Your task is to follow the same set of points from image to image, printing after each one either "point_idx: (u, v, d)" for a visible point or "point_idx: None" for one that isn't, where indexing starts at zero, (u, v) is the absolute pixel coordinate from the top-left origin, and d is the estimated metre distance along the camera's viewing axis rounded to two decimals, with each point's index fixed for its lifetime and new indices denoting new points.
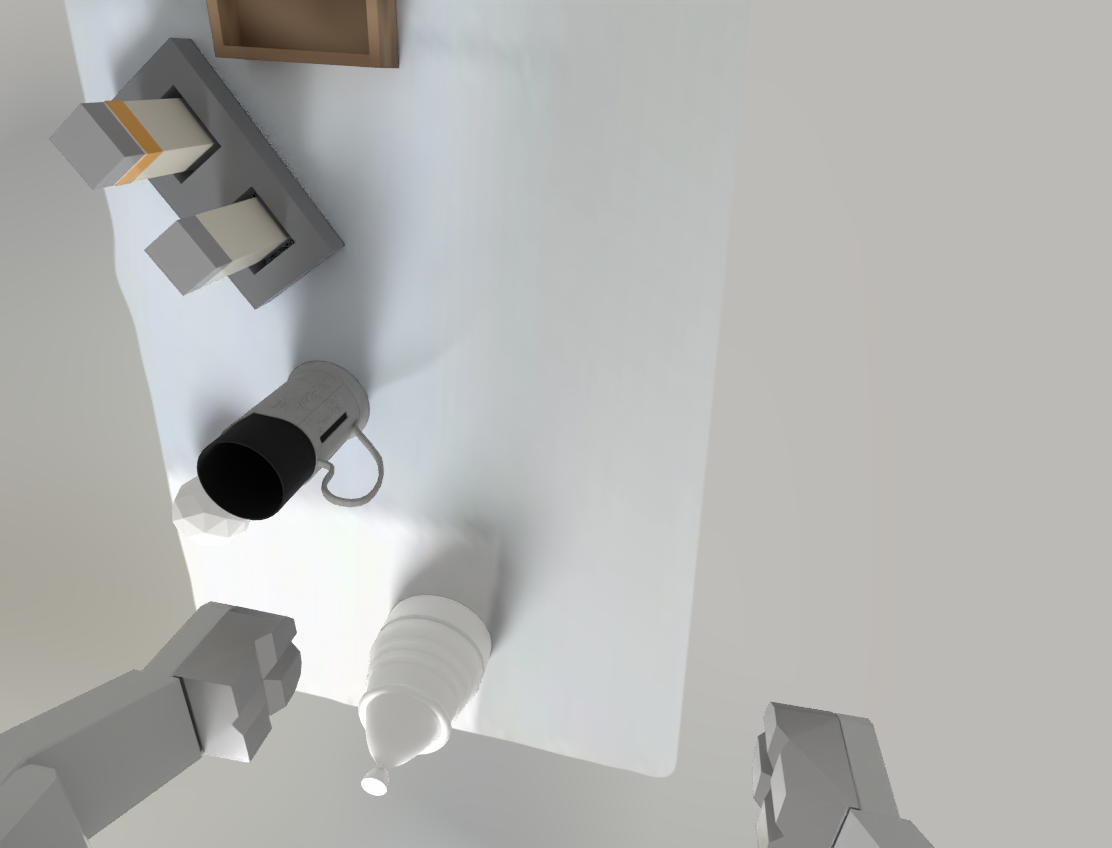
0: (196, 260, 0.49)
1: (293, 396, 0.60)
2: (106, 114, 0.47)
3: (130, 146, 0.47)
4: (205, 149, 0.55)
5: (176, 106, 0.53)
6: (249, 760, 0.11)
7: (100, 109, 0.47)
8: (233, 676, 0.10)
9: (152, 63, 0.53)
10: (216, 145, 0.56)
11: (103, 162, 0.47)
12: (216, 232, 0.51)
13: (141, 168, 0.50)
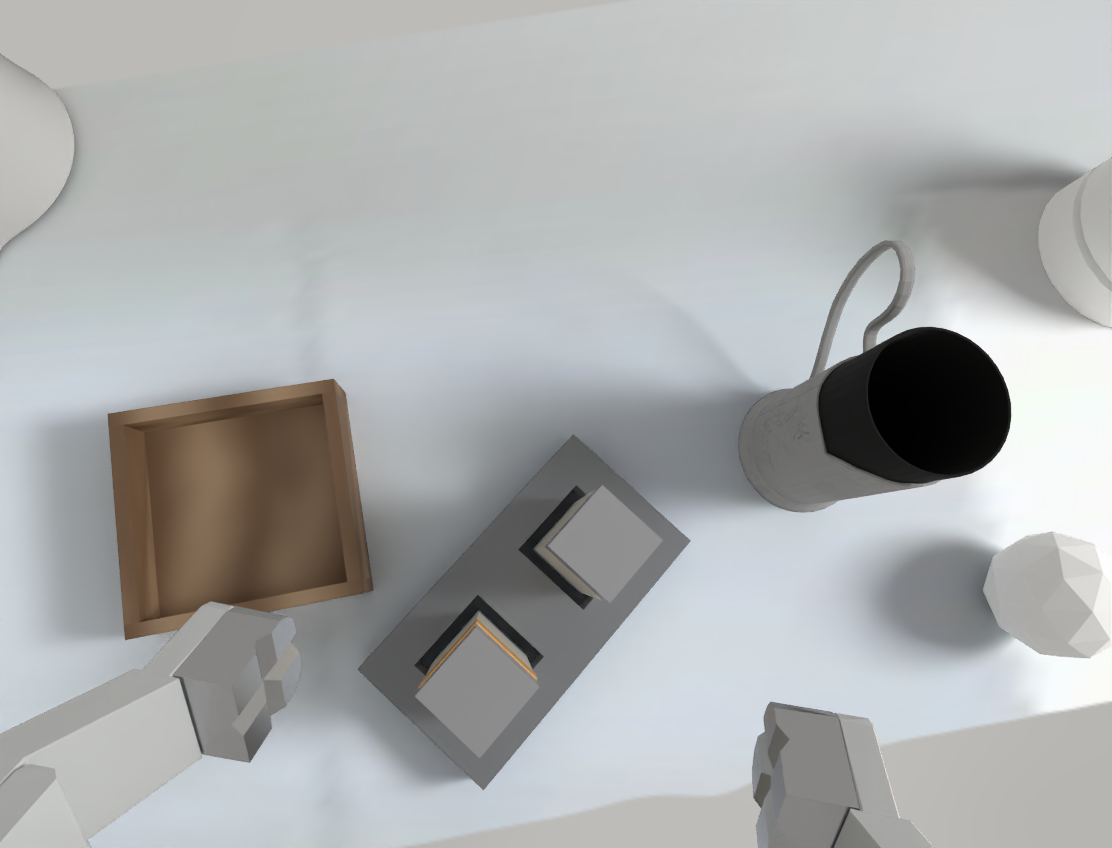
0: (600, 516, 0.33)
1: (788, 432, 0.40)
2: (431, 675, 0.32)
3: (466, 636, 0.32)
4: (489, 621, 0.41)
5: (439, 656, 0.39)
6: (249, 760, 0.11)
7: (424, 682, 0.32)
8: (233, 676, 0.10)
9: (394, 696, 0.39)
10: (483, 614, 0.42)
11: (492, 664, 0.31)
12: (564, 522, 0.35)
13: (508, 649, 0.35)
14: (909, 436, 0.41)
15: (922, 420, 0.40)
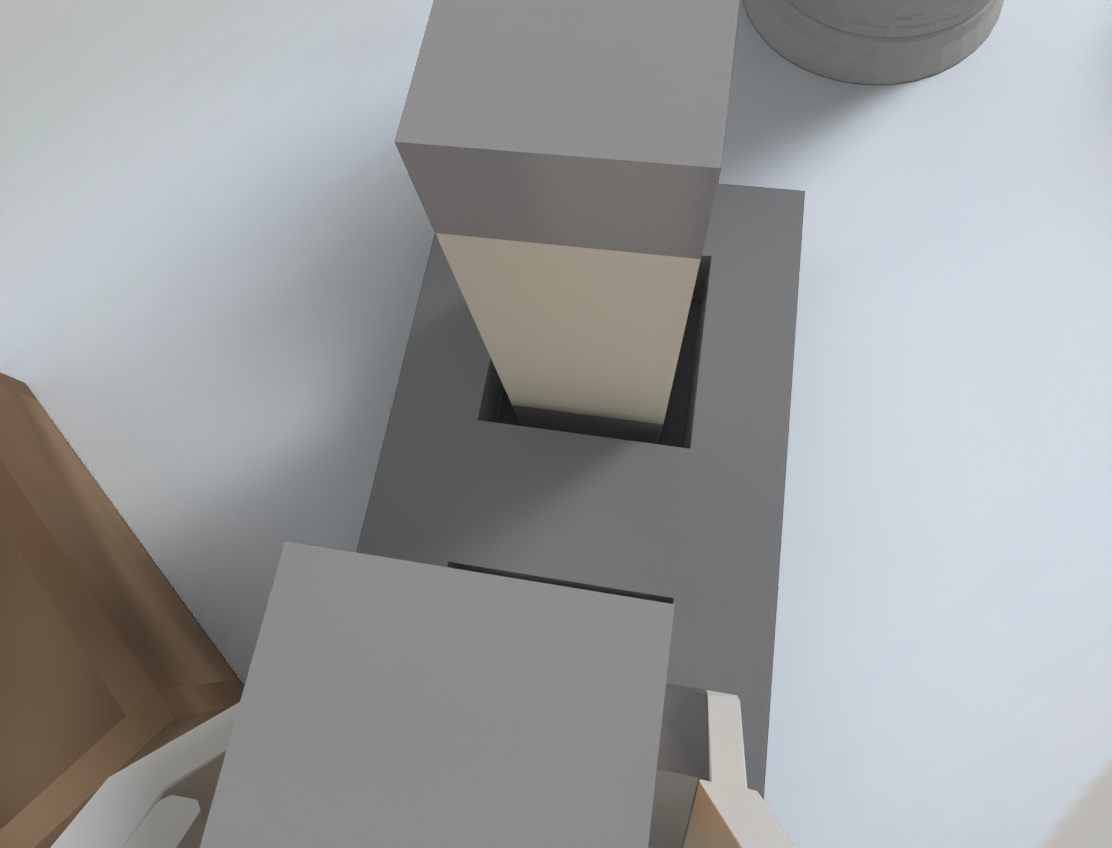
0: None
1: None
2: None
3: None
4: None
5: None
6: None
7: None
8: None
9: None
10: None
11: (428, 637, 0.07)
12: None
13: None
14: None
15: None
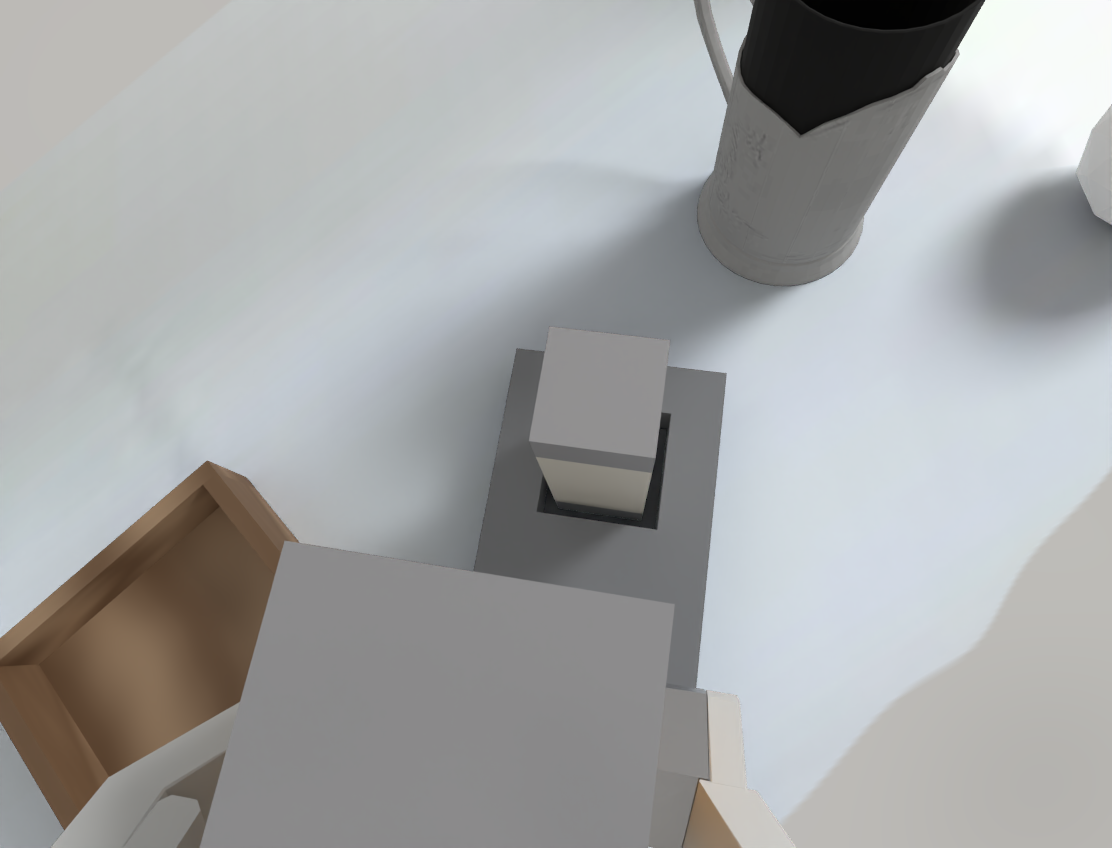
0: (572, 362, 0.22)
1: (745, 169, 0.30)
2: None
3: None
4: None
5: None
6: None
7: None
8: None
9: None
10: None
11: (428, 637, 0.07)
12: None
13: None
14: None
15: None
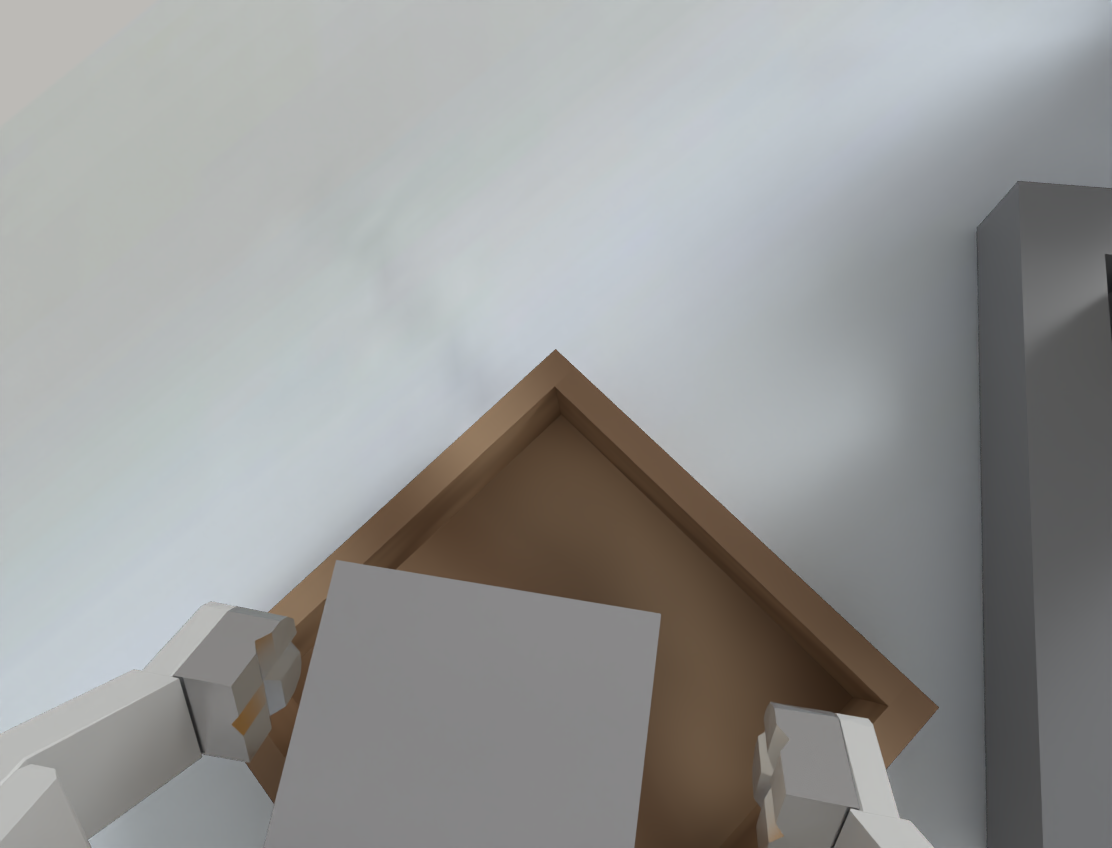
0: None
1: None
2: None
3: None
4: None
5: None
6: (249, 760, 0.11)
7: None
8: (233, 676, 0.10)
9: None
10: None
11: (457, 640, 0.08)
12: None
13: None
14: None
15: None
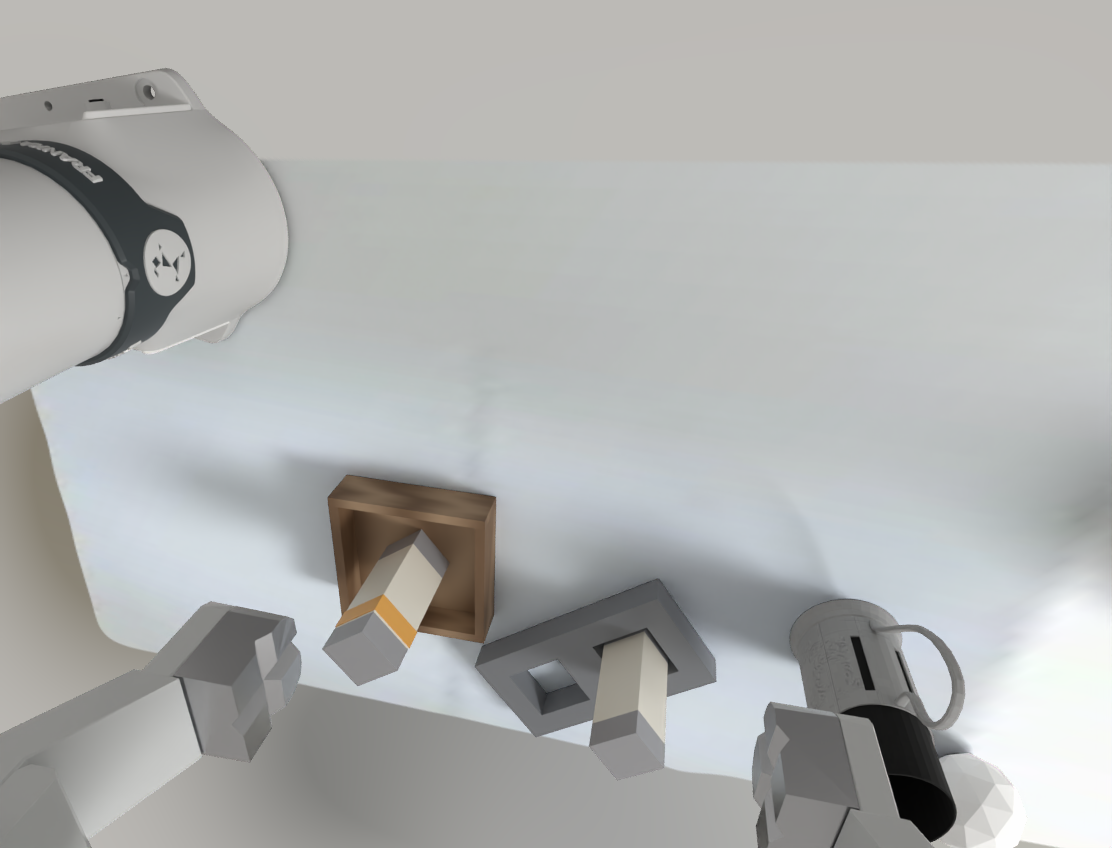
0: (628, 745, 0.49)
1: (811, 692, 0.51)
2: (339, 630, 0.49)
3: (362, 621, 0.48)
4: (418, 553, 0.56)
5: (379, 565, 0.56)
6: (249, 760, 0.11)
7: (335, 633, 0.49)
8: (233, 676, 0.10)
9: (493, 685, 0.62)
10: (419, 541, 0.56)
11: (370, 651, 0.48)
12: (612, 710, 0.51)
13: (399, 618, 0.50)
14: None
15: None
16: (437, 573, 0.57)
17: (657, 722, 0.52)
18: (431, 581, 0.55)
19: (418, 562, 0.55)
